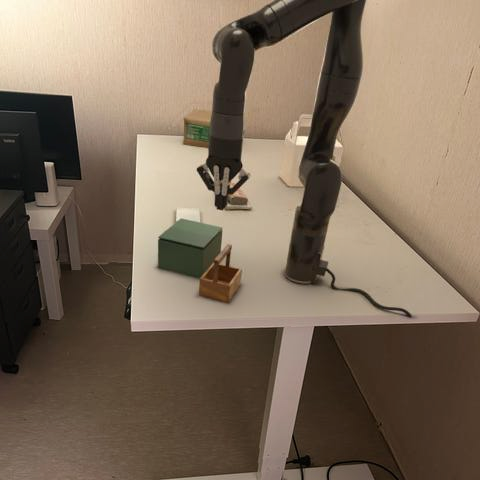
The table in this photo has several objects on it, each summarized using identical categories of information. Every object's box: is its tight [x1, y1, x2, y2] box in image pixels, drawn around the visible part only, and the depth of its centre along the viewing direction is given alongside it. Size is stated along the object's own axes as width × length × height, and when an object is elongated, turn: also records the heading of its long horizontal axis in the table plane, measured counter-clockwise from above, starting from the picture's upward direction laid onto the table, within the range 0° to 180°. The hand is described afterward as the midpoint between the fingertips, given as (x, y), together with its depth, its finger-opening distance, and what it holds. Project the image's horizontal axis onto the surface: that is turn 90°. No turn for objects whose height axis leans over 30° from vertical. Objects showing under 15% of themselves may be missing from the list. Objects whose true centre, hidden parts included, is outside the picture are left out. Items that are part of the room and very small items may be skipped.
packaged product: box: [225, 182, 253, 211], centre depth 176 cm, size 18×5×10 cm
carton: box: [157, 226, 223, 279], centre depth 130 cm, size 15×13×9 cm
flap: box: [170, 218, 223, 238], centre depth 130 cm, size 7×13×1 cm, turn 72°
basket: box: [198, 243, 243, 304], centre depth 118 cm, size 10×8×11 cm
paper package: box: [183, 108, 212, 148], centre depth 244 cm, size 27×26×14 cm
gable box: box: [279, 113, 344, 188], centre depth 199 cm, size 22×13×28 cm, turn 103°
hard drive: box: [175, 207, 202, 223], centre depth 158 cm, size 2×8×12 cm
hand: (220, 208), depth 112 cm, fingers closed
